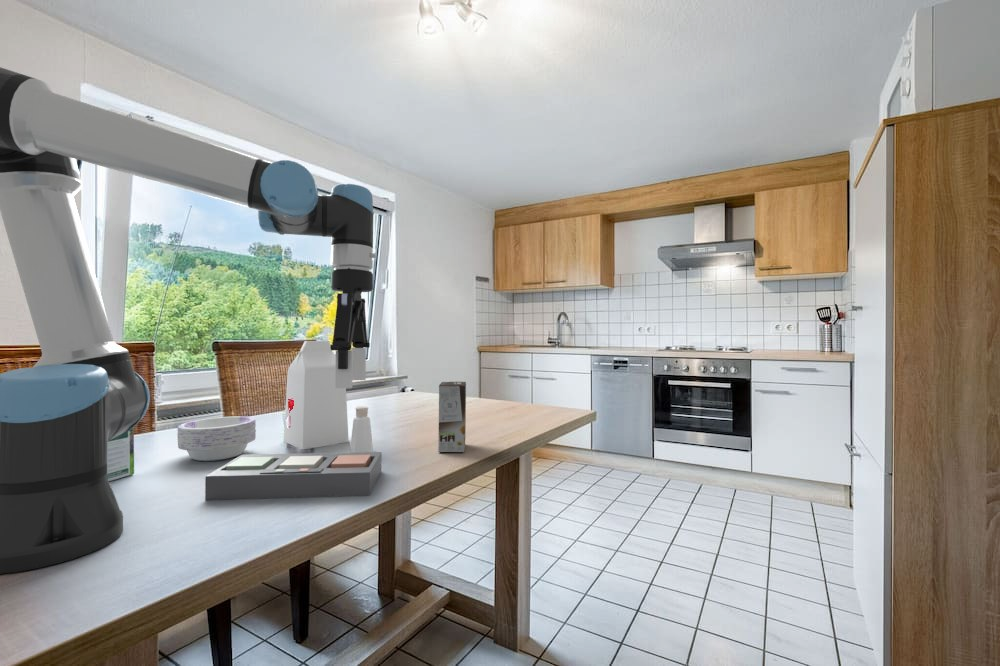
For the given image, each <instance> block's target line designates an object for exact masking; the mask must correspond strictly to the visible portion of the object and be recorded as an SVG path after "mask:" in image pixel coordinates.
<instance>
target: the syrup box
mask: <svg viewBox="0 0 1000 666" xmlns="http://www.w3.org/2000/svg"><path fill="white" fill-rule="evenodd" d="M134 432H135V426H134V427H133V428H132V429H131V430H130V431H128V432H127V433H125V434H123V435H122V436H120V437H118V438H115V439H112V440H110V441H108V448H107V478H108V481H109V482H112V481H115V480H119V479H122V478H125V477H128V476H132V475H134V474H135V435H134V434H135V433H134Z"/></svg>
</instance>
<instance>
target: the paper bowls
mask: <svg viewBox="0 0 1000 666" xmlns="http://www.w3.org/2000/svg"><path fill="white" fill-rule="evenodd" d="M256 426H257V425H256V419H255V418H254V417H251V416H235V415H234V416H219V417H217V416H216V417H210V418H202V419H195V420H192V421H187V422H184V423H182V424H179V425H178V426H177V434H176V435H177V448H178V449H179V450H183V451H186V452H187V454H188V455H189V457H190V458H191V459H192V460H195V461H201V462H214V461H215V462H216V461H222V460H228V459H232V458H235V457H236V458H237V457H239V456H241V455H243V454H244V452H245V450H246V449H247V446H248V444H249V443H251V442H254V441H256V434H257V433H256V432H257V429H256Z"/></svg>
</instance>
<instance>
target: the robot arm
mask: <svg viewBox="0 0 1000 666" xmlns="http://www.w3.org/2000/svg"><path fill="white" fill-rule="evenodd" d="M84 162H86V163H89V164H93V165H95V166H99V167H103V168H107V169H109V170H113V171H114V170H115V171H118V172H121V173H125V174H128V175H132V176H135V177H140V178H141V179H142V178H143V179H146V180H149V181H154V182H156V183H160V184H163V185H168V186H171V187H174V188H179V189H182V190H186V191H190V192H192V193H197V194H200V195H203V196H207V197H210V198H213V199H218V200H221V201H226V202H229V203H233V204H236V205H238V206H239V205H240V206H243V207H246V208H250V209H252V210H256V211H257V216H258V218H257V219H258V225H259V227H260V229H261V231H263V232H266V233H275V234H279V235H282V236H283V235H293V236H294V235H297V236H311V237H324V238H325V237H326V238H327V237H328V238H331V239H330V240H331V241H330V243H331V246H330V248H331V249H330V267H331V268H332V269H333V270H332V271H331V272H330V276H331V277H330V288H331V290H333V291H334V292H342V293H337V294H336V313H335V320H334V327H333V336H332V342H331V344H330V345H331V350H332V351H335V355H336V388H346V389H352V388H353V381H366V380H367V379H366V377H367V376H366V374H367V373H366V372H367V371H366V370H367V369H366V367H367V366H366V365H367V364H366V362H367V361H366V356H367V354H366V352H367V349H366V348H370V346H371V345H370V344H371V343H370V342H369V340H368V334H367V333H368V332H367V331H368V329H367V318H366V299H365V298H362V293H369V292H372V291H373V289H374V273H373V272H372V271H370V270H372V269H373V267H374V265H373V262H374V261H373V259H375V258H377V254H376V253H375V252H373V251H374V249H373V248H374V215H375V213H374V202H373V194H372V192H371V190H370V189H368V188H367V187H365V186H362V185H359V184H355V183H347V184H346V183H337V184H336V185H334V186H333V187H332V188H331V192H330V194H318V193H319V190H318V188H317V187H318V186H317V184H316V181H315V178H314V176H313V174H312V173H311V172H310V171H309V170H308V168H306V167H305V166H304V165H302V164H301V163H300V162H296V161H295V160H290V159H289V160H287V159H285V160H276V161H274V162H271V161H268V160H266V159H262V158H257V157H254V156H251V155H248V154H245V153H243V152H239V151H236V150H234V149H233V150H232V149H230V148H226V147H223V146H220V145H219V144H218V145H216V144H214V143H211V142H208V141H204V140H202V139H199V138H195V137H192V136H190V135H186V134H183V133H181V132H178V131H177V132H176V131H173V130H171V129H167V128H165V127H161V126H157V125H155V124H151V123H148V122H146V121H142V120H140V119H136V118H134V117H131V116H127V115H124V114H120V113H117V112H114V111H111V110H109V109H105V108H101V107H99V106H95V105H92V104H89V103H87V102H83V101H80V100H78V99H74V98H70V97H68V96H64V95H61V94H58V93H55V92H54V91H53V90H52V88H51V87H50V85H48V83H46V82H45V81H43V80H40V79H37V78H36V77H32V76H29V75H26V74H22V73H20V72H17V71H13V70H11V69H9V68H5V67H2V66H0V215H1V219H2V221H3V225H4V229H5V232H6V235H7V238H8V242H9V245H10V249H11V251H12V252H11V253H12V256H13V258H14V262H15V265H16V266H15V267H16V269H17V272H18V276H19V279H20V282H21V286H22V290H23V294H24V297H25V300H26V302H27V306H28V310H29V314H30V317H31V320H32V323H33V327H34V331H35V333H36V337H37V341H38V344H39V347H40V351H41V357H40V358H39V360H38V361H37V362H36V363H35V364H34V365H33V366H32V367H21V368H16V369H11V370H8V371H5V372H2V373H0V574H9V573H17V572H24V571H29V570H34V569H40V568H43V567H48V566H53V565H57V564H61V563H63V562H67V561H71V560H74V559H77V558H79V557H82V556H84V555H88V554H90V553H92V552H96V551H97V550H99V549H102V548H104V547H106V546H108V545H109V544H111V543H112V542H115V541H116V540H117V539H119V537H120V536H121V535H122V534H123V533H124V515H123V512H122V510H121V508H120V506H119V503H118V500H117V498H116V496H115V494H114V490H113V488H112V485H111V484H110V481H108V478H107V448H108V441H110V440H112V439H115V438H118V437H120V436H122V435H123V434H125V433H127V432H128V431H130V430H131V429H132V428H133V427H134V428H135V427H136V426H137V425H138V424H139V422H141V421H142V419H143V418H144V417H145V415H146V413H147V411H148V409H149V406H150V402H151V391H150V389H149V386H148V384H147V382H146V381H145V379H144V378H143V377H142V376H141V375H140V374H139V373H138V372H136V371H135V369H134V365H133V362H132V359H131V355H130V352H129V349H127V348H125V347H122V346H121V345H119V344H117V343H116V342H115V341H114V338H113V334H112V330H111V327H110V323H109V319H108V316H107V313H106V310H105V305H104V302H103V298H102V295H101V291H100V290H101V289H100V287H99V285H98V284H99V283H98V279H97V277H96V273H95V269H94V265H93V263H92V259H91V255H90V251H89V248H88V244H87V241H86V237H85V234H84V230H83V227H82V223H81V219H80V215H79V213H78V208H77V205H76V202H75V197H74V196H75V195H77V194H78V192H80V191H81V189H82V188H83V187H84V186H83V182H82V177H81V175H80V174H81V173H80V171H82V168H83V166H84Z"/></svg>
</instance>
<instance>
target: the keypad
mask: <svg viewBox="0 0 1000 666" xmlns="http://www.w3.org/2000/svg"><path fill="white" fill-rule="evenodd" d="M339 455H371V464H370V466H369V467H354V468H331V464H332V463H333V462H334V460H335V459H336V458H337V457H338V456H339ZM290 456H323V463H322V464H321V465H320V466H319V467H318V468H301V469H279V465H280V464H281V463H283V462H284V461H285V460H287V459H288V458H289V457H290ZM241 457H274V463H272V464H271V465H270V466H268V467H267V468H266V469H263V470H226V466H227V465H229V464H231V463H232V462H234V461H236V460H237V459H239V458H241ZM381 473H382V451H373V452H353V453H350V452H312V453H311V452H310V453H308V452H307V453H306V452H305V453H300V452H299V453H256V454H255V453H254V454H253V453H252V454H240V455H238V456H236V458H235V457H234V458H233V459H232V460H231V461H229V462H227V463H225V464H224V465H222V466H220V467H219V468H217V469H214V470H213V471H212V472H210V473H208V474H206V475H205V477H204V478H205V480H204V481H205V482H204V483H205V485H204V486H205V487H204V488H205V489H204V490H205V491H204V493H205V494H204V499H205V501H214V500H215V501H217V500H218V501H220V500H251V499H253V500H254V499H255V500H256V499H259V500H260V499H285V498H287V499H290V498H291V499H292V498H322V497H324V498H325V497H357V496H358V497H359V496H360V497H361V496H362V497H363V496H370V495H371V494H372V492H373V489H374V487H375V486H376V484H377V482H378V479H379V477H380V475H381Z"/></svg>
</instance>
